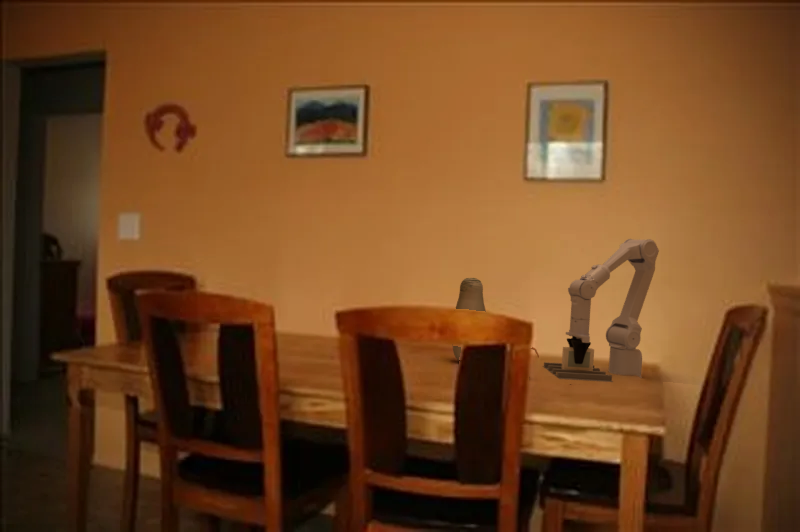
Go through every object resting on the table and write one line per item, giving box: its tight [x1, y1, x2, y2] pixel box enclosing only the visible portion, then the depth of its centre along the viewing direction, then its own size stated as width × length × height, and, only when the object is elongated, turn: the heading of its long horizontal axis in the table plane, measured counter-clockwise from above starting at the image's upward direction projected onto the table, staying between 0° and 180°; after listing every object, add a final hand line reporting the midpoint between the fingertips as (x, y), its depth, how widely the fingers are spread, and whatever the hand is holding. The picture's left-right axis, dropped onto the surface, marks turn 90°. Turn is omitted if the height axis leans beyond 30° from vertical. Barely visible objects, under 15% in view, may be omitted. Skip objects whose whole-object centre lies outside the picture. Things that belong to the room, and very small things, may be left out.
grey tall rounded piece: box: [452, 277, 487, 361], centre depth 207 cm, size 10×10×28 cm
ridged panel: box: [542, 361, 614, 383], centre depth 194 cm, size 16×20×2 cm
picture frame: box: [561, 346, 595, 371], centre depth 194 cm, size 9×2×7 cm, turn 91°
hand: (577, 362), depth 194 cm, fingers closed on picture frame, 2 cm apart
